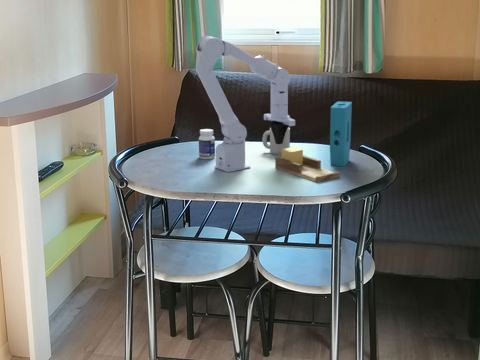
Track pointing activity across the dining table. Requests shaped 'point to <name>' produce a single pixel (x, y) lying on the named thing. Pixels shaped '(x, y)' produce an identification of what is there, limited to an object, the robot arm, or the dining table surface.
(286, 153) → the block
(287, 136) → the cup
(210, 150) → the pill bottle
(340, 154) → the block
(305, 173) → the chute
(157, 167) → the dining table surface
